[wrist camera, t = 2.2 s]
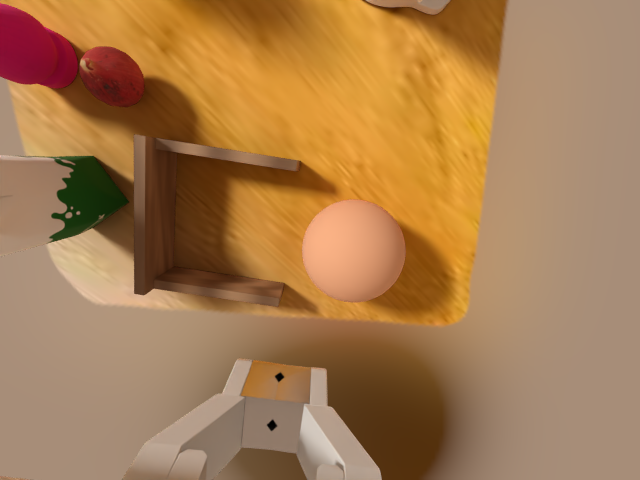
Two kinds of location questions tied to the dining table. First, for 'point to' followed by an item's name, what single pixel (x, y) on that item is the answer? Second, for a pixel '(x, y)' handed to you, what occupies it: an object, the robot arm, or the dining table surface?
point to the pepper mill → (33, 51)
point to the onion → (112, 76)
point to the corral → (159, 224)
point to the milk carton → (52, 199)
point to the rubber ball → (353, 250)
